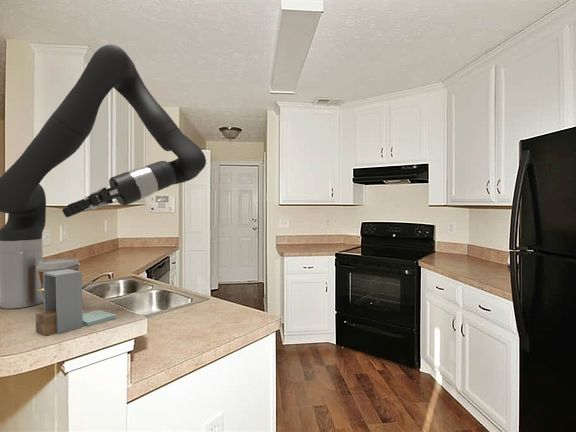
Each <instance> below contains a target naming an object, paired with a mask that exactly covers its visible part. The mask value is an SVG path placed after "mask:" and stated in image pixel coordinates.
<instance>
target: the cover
mask: <svg viewBox="0 0 576 432" xmlns="http://www.w3.org/2000/svg"><path fill="white" fill-rule="evenodd" d="M82 273H83V272H82V271H81V270H78V271H76V270H71V269H65V270H58V271H51V272H44V273H43V285H44V299H43V312H45V311H49V310H54V309H56V323H57V333H56V334H62V333H65V332H69V331H72V330H76V329H79V328H82V327H83V318H82V314H83V276H82Z"/></svg>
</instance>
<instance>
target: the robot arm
mask: <svg viewBox="0 0 576 432" xmlns="http://www.w3.org/2000/svg"><path fill="white" fill-rule="evenodd" d="M113 89H115V91H117V92H118V93H119V94H120V95H121V96H122V97H123V98H124V99H125V100H126V102H128V103H129V105H130V106H131V107H132V108H133V110H134V111H135V112H136V114H137V115H138V117H139V118H140V121H141V122H142V123H143V125H144V126H145V128H146V129H147V131H148V132H149V134H150V135H151V136H152V138H154V140H155V141H156V143H157V144H158V145H159V147H161V149H162V150H163V151H165V152H172V153H173V154H174V155H175V156H176V157H177V158H176V159H174V160H171V161H166V160H160V161H157V162H152V163H150V164H148V165H146V166H145V165H144V166H142V167H137V168H134V169H131V170H129V171H125V172H122V173H119V174H117V175H114V176H112V177H110V178H109V180H108V183H109V188H106V187H102V188H100V189H98V190H97V191H94V192H91V193H90V194H89V195H87V196H85V197H84V198H82V199H80V200H76V201H74V202H72V203H69V204H67V205H66V207H64V208H62V210H61V211H62V213H63V215H64V216H65V217H66V218H69V217H72V216H75V215H77V214H79V213H82V212H83V213H84V212H88V211H89V210H92V211H93V210H96V209H99V208H101V207H107V206H108V205H111V204H113V203H114V201H113V200H117V203H118V204H119V205H120V206H122V207H125V206H128V205H131V204H133V203H136V202H137V201H140V200H142V199H144V198H145V199H146V198H147V197H149V196H151V195H153V194H155V193H157V192H159V191H162V190H164V189H167V188H168V187H170V186H173V185H178V184H181V183H185V182H189V181H191V180H193V179H196V177H198V175H200V173H201V172H202V171H203V170H204V169H205V167H206V165H207V159H206V158H207V157H206V155H205V153H204V152H203V150H202V148H200V147H199V145H198V144H196V143H195V142H194V141H193V140H191V139H190V138H189V137H188V136H186V135H185V134H184V133H183V132H182V131H181V129H180V128H179V126H178V125H177V124H176V123H175V121H174V120H173V119H172V117H171V116H170V115H169V114H168V113H167V111H166V110H165V109H164V108H163V107H162V106H161V104H159V103H158V101H157V100H156V99H155V98H154V97H153V95H152V94H151V92H150V91H149V90H148V88H147V86H146V85H145V83H144V81H143V79H142V77H141V76H140V74H139V71H138V70H137V68H136V65H135V63H134V61H133V60H132V59H131V57H130V56H129V55H128V54H127V52H126V51H125V50H124V49H123V48H121V47H120V46H119V45H115V44H105V45H102V46H100V47H99V48H98V49H97V50H96V51H95V52H94V53H93V55H92V56H91V58H90V59H89V61H88V63H87V64H86V66H85V68H84V70H83V71H82V74H81V75H80V76H79V78H78V79H77V82H76V83H75V85H74V86H73V87H72V88H71V90H70V91H69V92H68V94H67V95H66V96H65V97H64V99H63V101H62V102H61V103H60V104H59V106H58V107H57V108H56V109H55V110H54V112H52V113H51V115H50V117H49V118H48V119H47V120H46V121H45V122H44V125H43V126H42V128H40V130H39V131H38V133H37V135H36V136H35V137H34V138H33V139H32V140H31V142H30V143H29V144H28V146H27V147H26V149H25V150H24V152H22V153H21V155H20V156H19V158H18V159H16V161H15V162H14V163H13V164H12V165H11V166H10V167H9V168H8V169H7V170H6V171H5V172H4V173H3V174H2V175H1V176H0V213H4V214H7V215H8V217H7V221H6V222H5V224H4V225H3V226H2V227H1V228H0V308H2V309H22V308H28V307H32V306H33V307H34V306H36V305H40V304H42V303H44V299H43V293H42V291H37V290H36V289H37V288H40V287H41V281H40V276H39V271H38V269H37V268H36V267H37V266H38V263H39V262H40V261H44V260H43V259H44V257H43V254H44V253H43V252H44V251H43V233H44V232H43V231H44V229H45V228H46V227H45V226H46V217H47V214H46V213H47V212H46V211H47V197H46V196H47V195H46V192H45V189H44V188H43V186H42V185H41V184H40V183H41V182H42V181H43V179H44V178H45V177H46V176H47V175H48V174H49V173H50V171H52V170H53V169H55V168H56V167H57V166H59V165H61V164H62V163H63V162H65V161H66V160H67V159H68V158H70V157H72V155H74V154H75V153H76V152H77V151H78V150H79V149H80V148H81V146H82V145H83V143H84V142H85V140H86V139H87V138H88V136H90V134H91V132H92V130H93V128H94V125H95V122H96V119H97V117H98V116H97V115H98V113H99V110H100V107H101V104H102V103H103V101H104V99H105V98H106V96H107V95H108V94H109V93H110V92H111V90H113Z"/></svg>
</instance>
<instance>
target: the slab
mask: <svg viewBox="0 0 576 432" xmlns="http://www.w3.org/2000/svg"><path fill="white" fill-rule="evenodd" d="M82 318H83V325H84V326H87V327H90V326H93V325H98V324H100V323H101V324H102V323H104V322H107V321H112V320H115V319H117V314H114V313H111V312H108V311H104V310H99V309H97V310H95V311H91V312H90V311H89V312H87V313H82Z"/></svg>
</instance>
